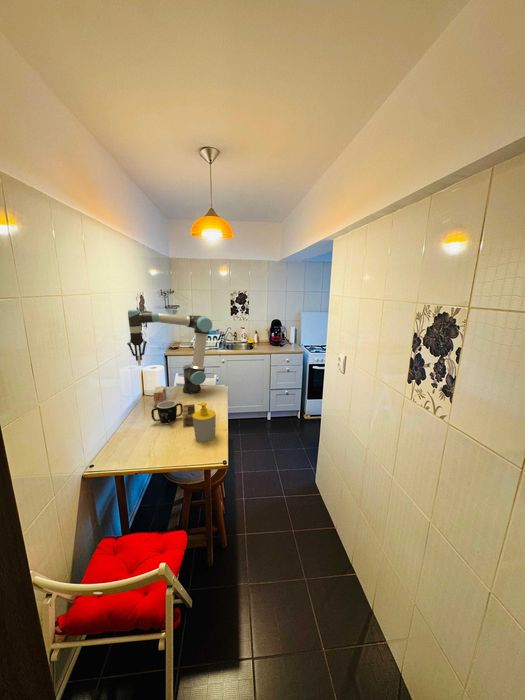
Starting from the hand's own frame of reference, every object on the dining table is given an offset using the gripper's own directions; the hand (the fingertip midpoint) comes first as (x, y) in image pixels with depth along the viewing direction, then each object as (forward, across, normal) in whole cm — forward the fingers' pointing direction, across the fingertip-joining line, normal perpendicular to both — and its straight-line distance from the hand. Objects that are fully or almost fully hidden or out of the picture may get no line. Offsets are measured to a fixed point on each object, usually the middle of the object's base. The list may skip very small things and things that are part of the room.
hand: (139, 364), depth 197 cm
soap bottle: (+33, -25, +65) cm, 77 cm away
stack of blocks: (+33, -12, -3) cm, 35 cm away
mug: (+33, -11, +32) cm, 47 cm away
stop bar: (+32, -23, +37) cm, 54 cm away
